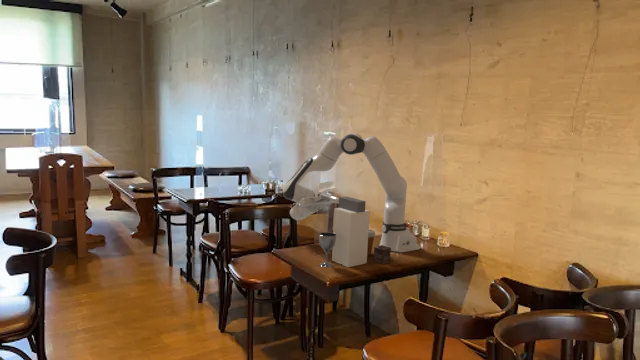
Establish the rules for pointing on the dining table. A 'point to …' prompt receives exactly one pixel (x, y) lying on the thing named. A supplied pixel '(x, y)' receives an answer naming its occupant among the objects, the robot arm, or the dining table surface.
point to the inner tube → (330, 198)
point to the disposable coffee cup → (370, 241)
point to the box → (382, 254)
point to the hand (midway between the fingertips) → (325, 196)
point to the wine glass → (327, 245)
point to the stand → (350, 232)
